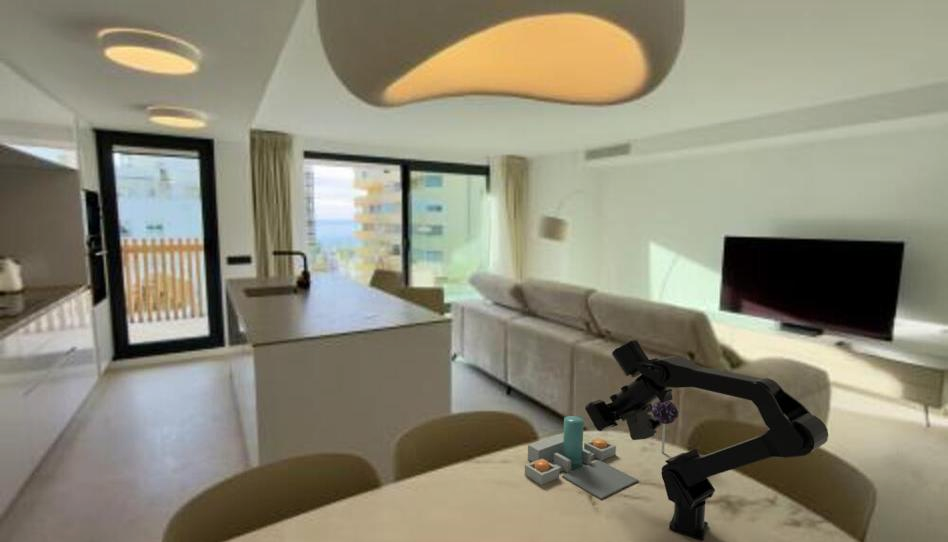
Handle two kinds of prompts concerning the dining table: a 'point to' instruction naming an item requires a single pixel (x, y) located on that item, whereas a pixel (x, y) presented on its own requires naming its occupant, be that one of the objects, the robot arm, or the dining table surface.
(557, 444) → the housing
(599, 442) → the right plunger
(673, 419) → the lollipop
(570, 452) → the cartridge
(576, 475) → the mat
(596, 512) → the dining table surface
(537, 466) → the left plunger
